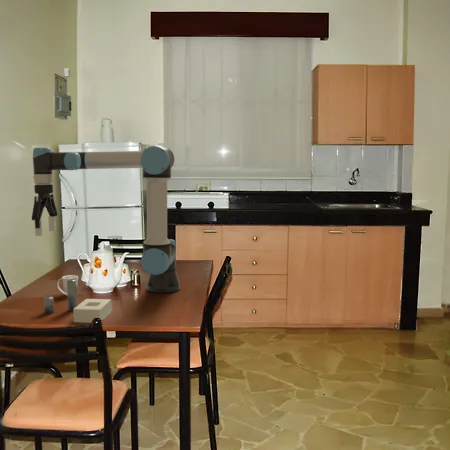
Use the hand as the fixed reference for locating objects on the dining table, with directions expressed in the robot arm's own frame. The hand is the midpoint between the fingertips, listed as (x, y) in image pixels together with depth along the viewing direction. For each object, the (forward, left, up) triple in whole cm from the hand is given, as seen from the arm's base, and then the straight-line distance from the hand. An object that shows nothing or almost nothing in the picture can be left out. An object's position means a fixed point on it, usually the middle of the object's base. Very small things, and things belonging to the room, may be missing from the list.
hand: (45, 233), depth 233 cm
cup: (-8, -1, -28) cm, 29 cm away
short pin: (-11, +26, -27) cm, 39 cm away
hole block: (-30, +30, -27) cm, 50 cm away
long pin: (-19, +22, -27) cm, 40 cm away
